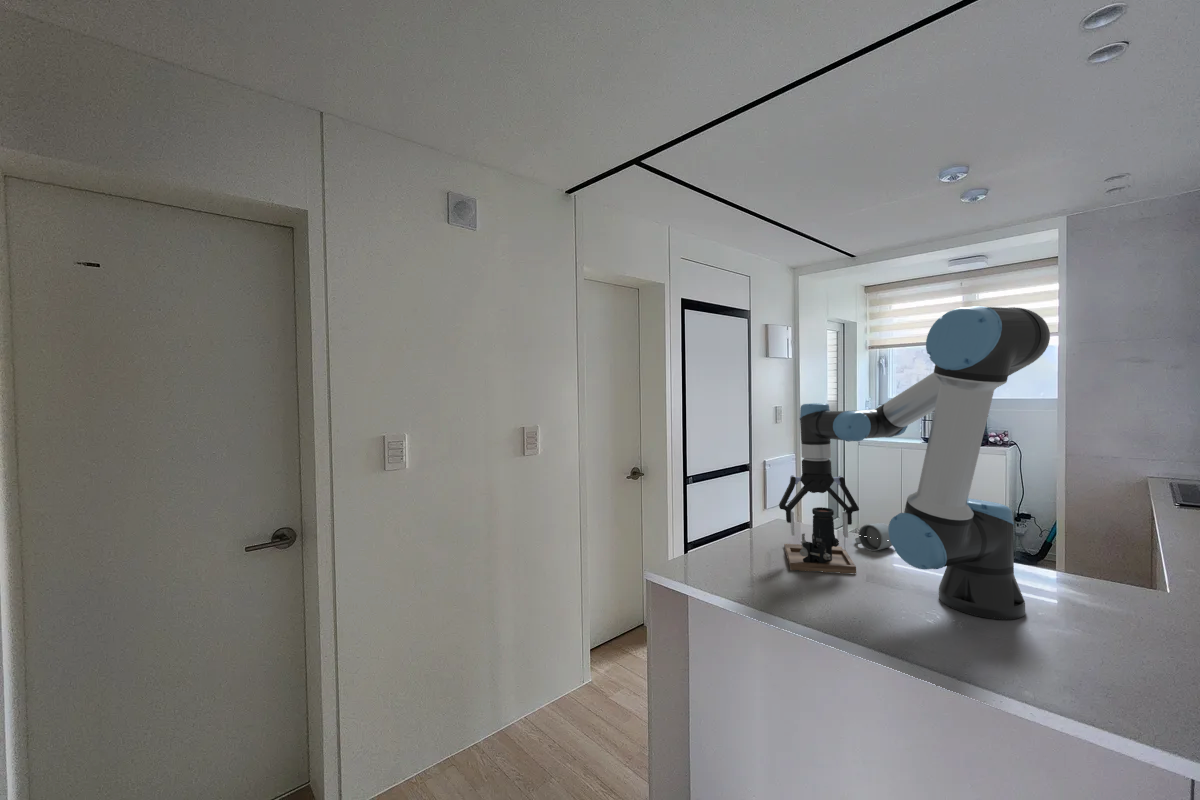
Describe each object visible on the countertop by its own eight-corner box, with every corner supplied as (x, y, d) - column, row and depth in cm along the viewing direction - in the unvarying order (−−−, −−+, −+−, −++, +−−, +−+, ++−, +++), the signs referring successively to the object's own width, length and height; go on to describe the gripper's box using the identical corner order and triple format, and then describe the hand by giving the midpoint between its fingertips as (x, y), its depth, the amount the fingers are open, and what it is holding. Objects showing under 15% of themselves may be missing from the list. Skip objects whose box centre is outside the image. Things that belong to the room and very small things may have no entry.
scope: (798, 511, 136) (813, 504, 143) (799, 561, 137) (814, 552, 144) (828, 516, 130) (843, 509, 137) (830, 568, 131) (844, 558, 138)
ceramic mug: (899, 549, 147) (898, 523, 147) (882, 554, 143) (881, 527, 143) (865, 540, 156) (864, 516, 156) (848, 545, 152) (847, 520, 152)
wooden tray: (856, 574, 129) (856, 566, 129) (790, 570, 133) (790, 562, 133) (841, 549, 148) (841, 543, 148) (784, 546, 152) (784, 540, 152)
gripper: (862, 457, 137) (865, 533, 137) (768, 457, 144) (770, 529, 144) (869, 460, 130) (872, 541, 130) (769, 460, 137) (772, 537, 137)
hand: (818, 535), depth 137 cm, fingers open, 13 cm apart
